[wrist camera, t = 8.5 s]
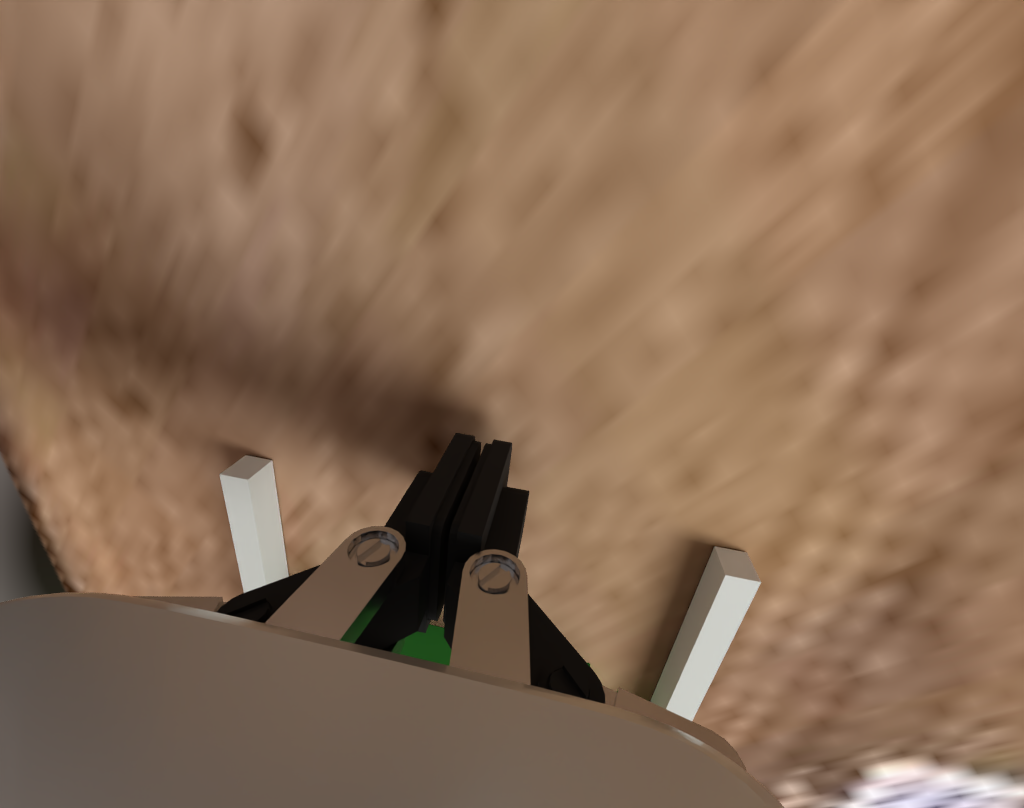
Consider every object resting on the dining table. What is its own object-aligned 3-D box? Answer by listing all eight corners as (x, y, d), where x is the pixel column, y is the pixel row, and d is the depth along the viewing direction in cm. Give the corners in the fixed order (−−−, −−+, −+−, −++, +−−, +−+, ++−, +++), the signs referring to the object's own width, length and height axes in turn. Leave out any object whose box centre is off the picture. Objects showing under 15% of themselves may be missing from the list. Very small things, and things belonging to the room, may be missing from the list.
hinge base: (245, 455, 15) (204, 484, 13) (746, 552, 14) (768, 599, 12) (299, 771, 24) (278, 812, 22) (609, 852, 22) (611, 902, 21)
